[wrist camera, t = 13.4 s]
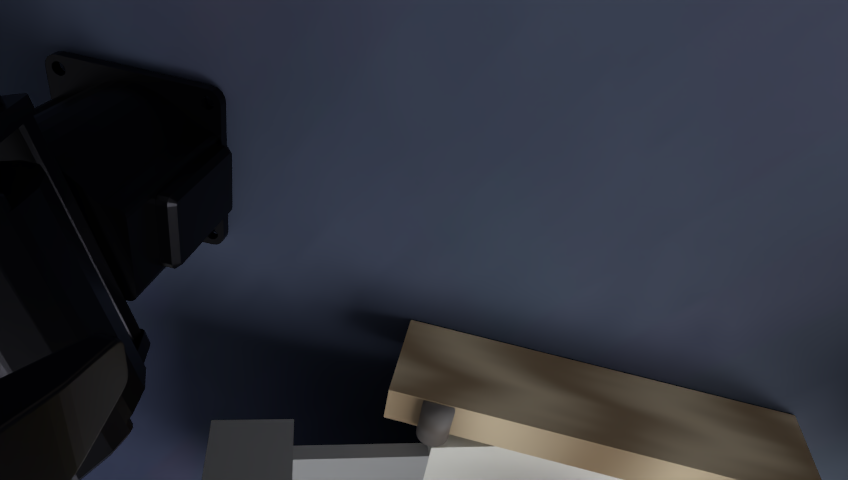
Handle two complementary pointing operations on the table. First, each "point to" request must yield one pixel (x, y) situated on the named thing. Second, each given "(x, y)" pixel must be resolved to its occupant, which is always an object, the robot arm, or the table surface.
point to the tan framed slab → (586, 413)
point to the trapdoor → (365, 458)
